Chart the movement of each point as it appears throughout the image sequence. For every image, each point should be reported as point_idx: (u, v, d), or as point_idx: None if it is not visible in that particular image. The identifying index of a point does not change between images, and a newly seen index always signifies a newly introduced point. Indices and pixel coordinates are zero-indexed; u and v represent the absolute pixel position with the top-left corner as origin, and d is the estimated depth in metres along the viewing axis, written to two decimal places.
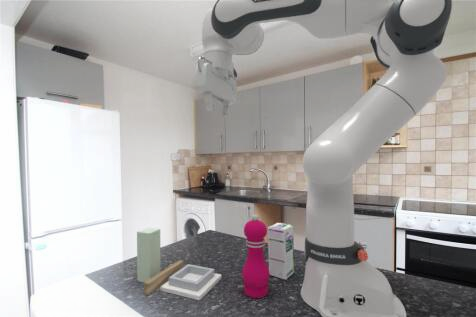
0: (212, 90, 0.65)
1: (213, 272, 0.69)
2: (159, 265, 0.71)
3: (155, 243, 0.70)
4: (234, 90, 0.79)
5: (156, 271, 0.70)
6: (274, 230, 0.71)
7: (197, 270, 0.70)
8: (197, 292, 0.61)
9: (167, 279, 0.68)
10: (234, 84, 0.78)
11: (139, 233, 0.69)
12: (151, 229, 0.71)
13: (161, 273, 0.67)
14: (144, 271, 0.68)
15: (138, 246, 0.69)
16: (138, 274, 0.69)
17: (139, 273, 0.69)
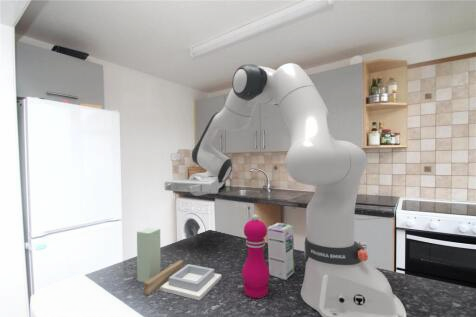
0: (172, 181, 0.90)
1: (213, 272, 0.69)
2: (159, 265, 0.71)
3: (155, 243, 0.70)
4: (210, 181, 0.88)
5: (156, 271, 0.70)
6: (274, 230, 0.71)
7: (197, 270, 0.70)
8: (197, 292, 0.61)
9: (167, 279, 0.68)
10: (211, 179, 0.90)
11: (139, 233, 0.69)
12: (151, 229, 0.71)
13: (161, 273, 0.67)
14: (144, 271, 0.68)
15: (138, 246, 0.69)
16: (138, 274, 0.69)
17: (139, 273, 0.69)
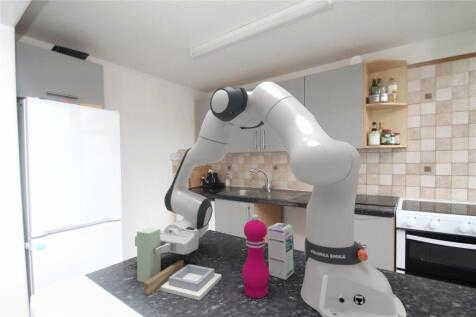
0: None
1: (213, 272, 0.69)
2: (159, 265, 0.71)
3: (155, 243, 0.70)
4: (188, 237, 0.75)
5: (156, 271, 0.70)
6: (274, 230, 0.71)
7: (197, 270, 0.70)
8: (197, 292, 0.61)
9: (167, 279, 0.68)
10: (189, 234, 0.76)
11: (139, 233, 0.69)
12: (151, 229, 0.71)
13: (161, 273, 0.67)
14: (144, 271, 0.68)
15: (138, 246, 0.69)
16: (138, 274, 0.69)
17: (139, 273, 0.69)
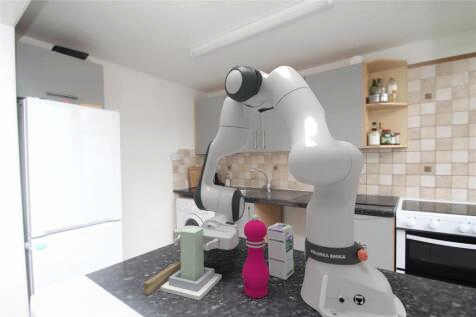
0: None
1: (213, 272, 0.69)
2: (202, 266, 0.68)
3: (199, 243, 0.66)
4: (230, 232, 0.71)
5: (200, 273, 0.66)
6: (274, 230, 0.71)
7: None
8: (197, 292, 0.61)
9: (167, 279, 0.68)
10: (231, 229, 0.73)
11: (183, 232, 0.65)
12: (194, 228, 0.68)
13: (161, 273, 0.67)
14: (188, 273, 0.65)
15: (182, 246, 0.66)
16: (182, 276, 0.66)
17: (183, 275, 0.65)
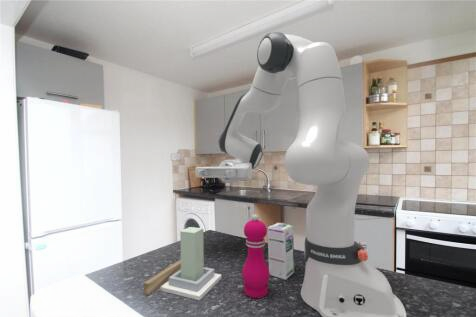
0: (203, 167, 0.85)
1: (213, 272, 0.69)
2: (202, 266, 0.68)
3: (199, 243, 0.66)
4: (245, 166, 0.83)
5: (200, 273, 0.66)
6: (274, 230, 0.71)
7: None
8: (197, 292, 0.61)
9: (167, 279, 0.68)
10: (245, 165, 0.85)
11: (183, 232, 0.65)
12: (194, 228, 0.68)
13: (161, 273, 0.67)
14: (188, 273, 0.65)
15: (182, 246, 0.66)
16: (182, 276, 0.66)
17: (183, 275, 0.65)
